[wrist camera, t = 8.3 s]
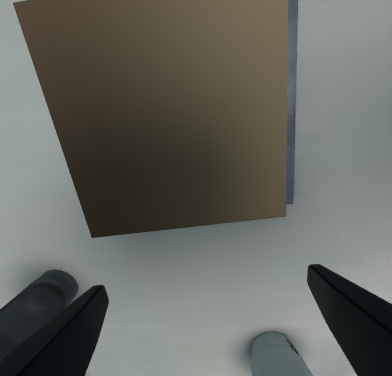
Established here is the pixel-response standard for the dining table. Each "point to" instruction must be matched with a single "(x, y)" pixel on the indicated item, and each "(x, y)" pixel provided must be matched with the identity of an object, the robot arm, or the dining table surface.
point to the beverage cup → (34, 308)
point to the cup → (276, 357)
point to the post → (166, 107)
